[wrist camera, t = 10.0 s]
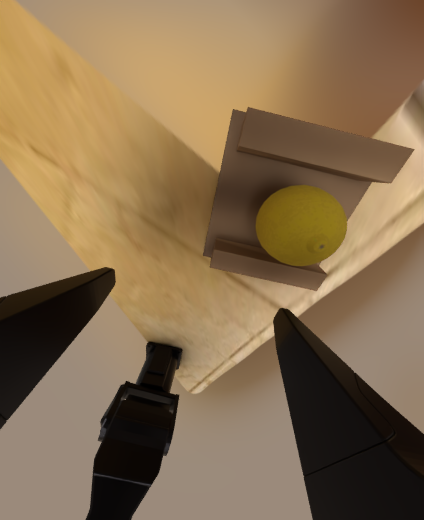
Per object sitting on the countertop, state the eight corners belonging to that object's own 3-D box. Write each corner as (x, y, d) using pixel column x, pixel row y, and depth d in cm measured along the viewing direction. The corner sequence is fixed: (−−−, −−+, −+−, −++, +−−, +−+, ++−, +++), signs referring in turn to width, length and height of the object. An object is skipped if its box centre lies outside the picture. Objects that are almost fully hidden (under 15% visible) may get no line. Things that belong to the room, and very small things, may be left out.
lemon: (271, 249, 18) (301, 300, 11) (238, 212, 16) (248, 243, 9) (320, 214, 15) (398, 249, 8) (288, 166, 14) (353, 162, 7)
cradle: (306, 274, 20) (323, 296, 16) (204, 251, 19) (199, 269, 16) (382, 151, 14) (436, 143, 10) (232, 113, 13) (234, 92, 10)
